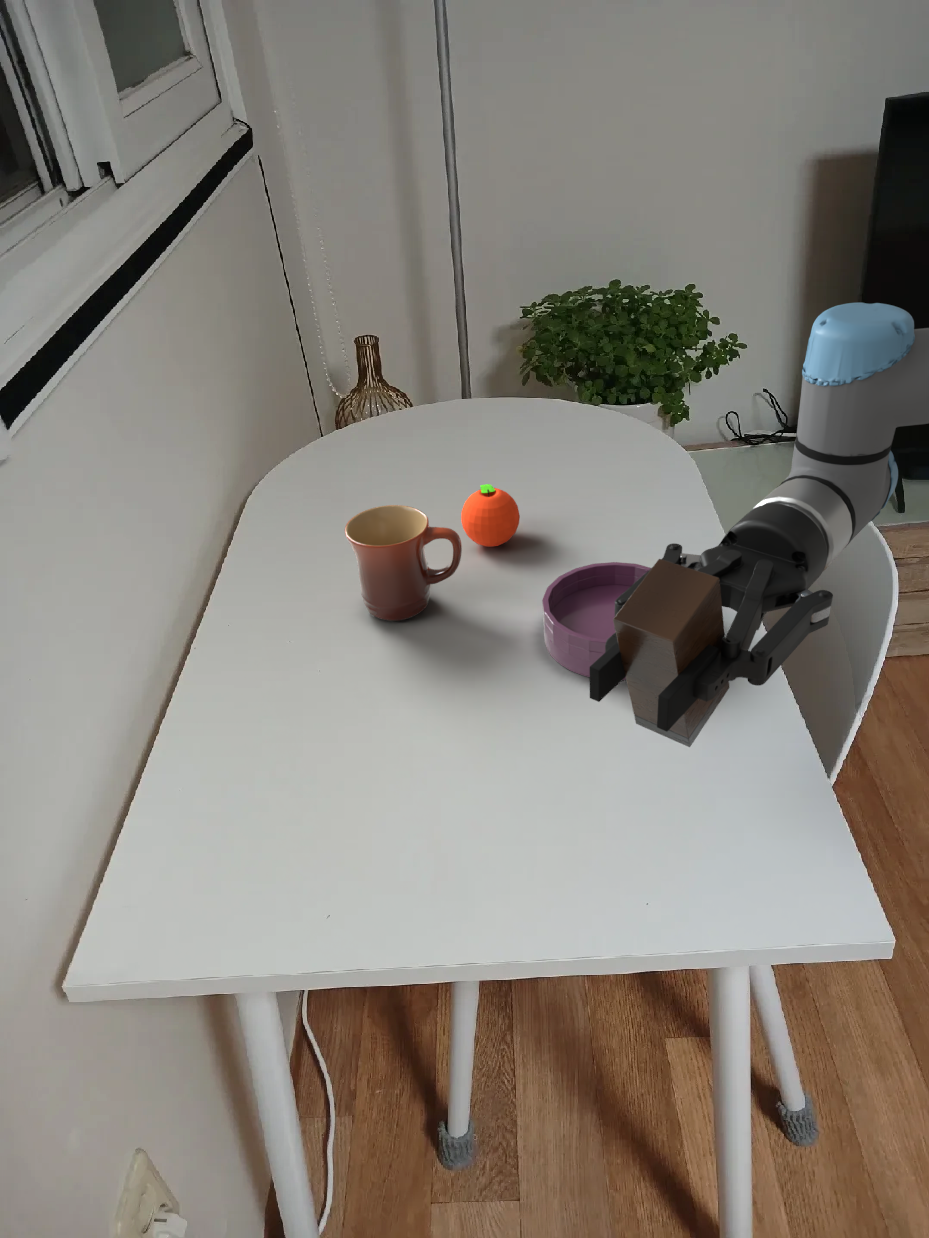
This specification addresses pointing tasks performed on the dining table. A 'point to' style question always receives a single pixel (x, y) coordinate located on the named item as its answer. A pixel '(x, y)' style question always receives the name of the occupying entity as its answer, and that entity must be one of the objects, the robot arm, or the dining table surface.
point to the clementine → (490, 516)
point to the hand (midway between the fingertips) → (628, 698)
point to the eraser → (669, 641)
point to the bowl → (584, 611)
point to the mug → (397, 559)
